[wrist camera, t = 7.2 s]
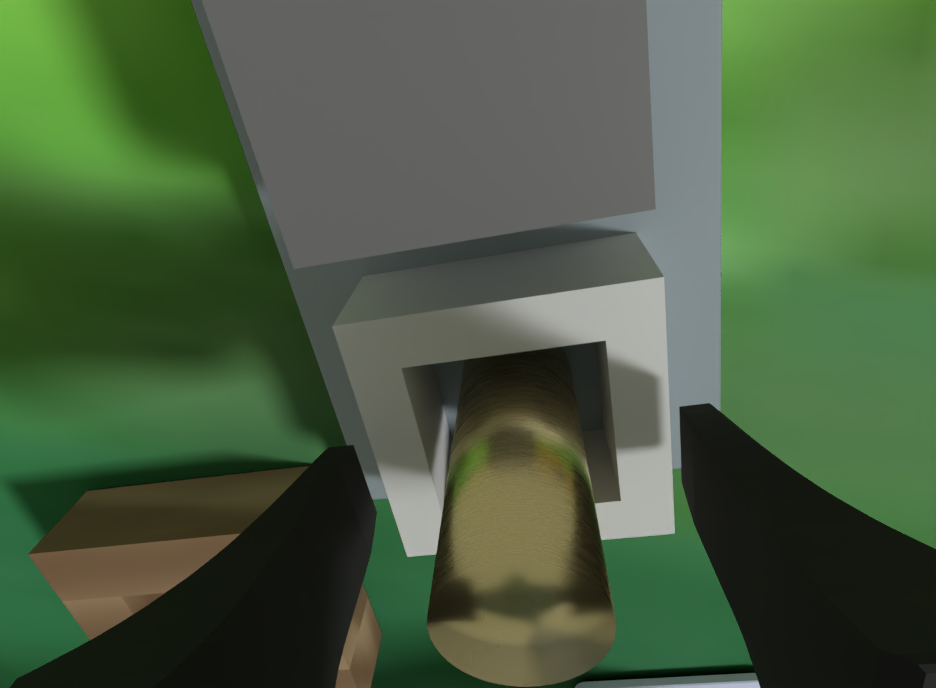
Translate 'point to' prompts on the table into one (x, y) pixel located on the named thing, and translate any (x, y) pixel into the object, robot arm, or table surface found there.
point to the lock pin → (520, 530)
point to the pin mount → (170, 551)
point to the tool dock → (492, 217)
